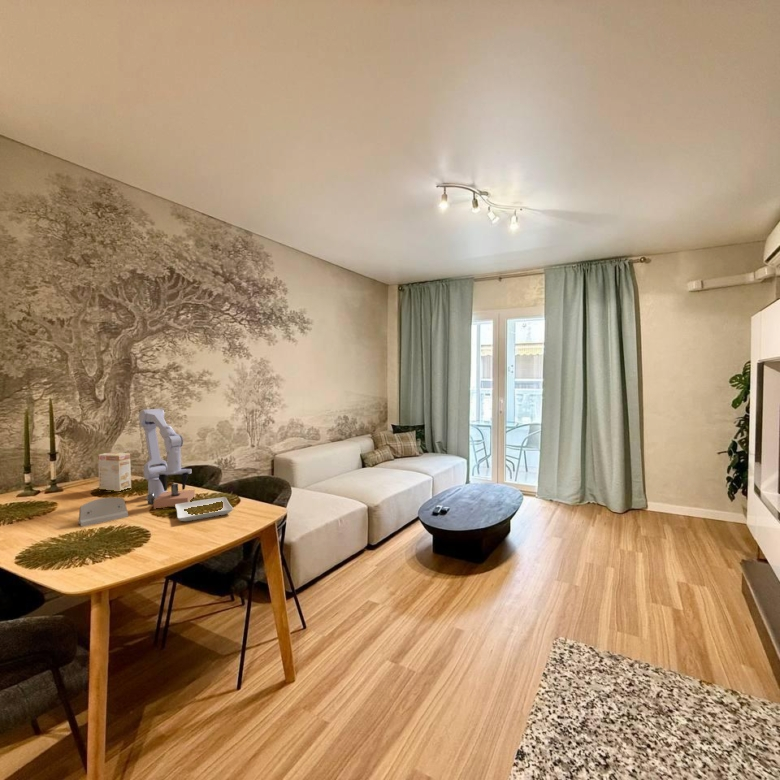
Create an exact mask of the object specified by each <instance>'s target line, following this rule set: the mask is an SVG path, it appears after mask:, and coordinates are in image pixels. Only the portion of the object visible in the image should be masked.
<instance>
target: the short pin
mask: <svg viewBox="0 0 780 780" xmlns="http://www.w3.org/2000/svg"><path fill="white" fill-rule="evenodd" d="M146 497H148V499H147V505H154V501H153V500H155V499H156V498H154V493H151V494H147V495H146Z"/></svg>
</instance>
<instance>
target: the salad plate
mask: <svg viewBox="0 0 780 780" xmlns="http://www.w3.org/2000/svg"><path fill="white" fill-rule="evenodd" d="M221 501H222V502H223V508H222V509H221V510H218V511H215V512H209V513H203V514H198V515H195V514H193V515H191V514H188V512H187V511H184V509H188V508H191V507H197V506H203V505H209V504H213V503H216V502H221ZM175 509H176V518H177V520H179V521H181V522H191V521H192V520H193V521H197V519H199V520H204V519H210V518H215V517H220V516H219V515H221V516H223V515H228V514H230V513H231V512H233V510H234V508H233V506H232V505H231V504H230V502H229V500H228V498H227V497H226V496H222V497H221V496H220V497H213V498H208V499H207V498H206V499H200V500H193V501H192V502H186V503H180V504H175ZM214 516H215V517H214ZM209 517H210V518H209ZM203 518H204V519H203Z"/></svg>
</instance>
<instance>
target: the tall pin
mask: <svg viewBox="0 0 780 780" xmlns="http://www.w3.org/2000/svg"><path fill="white" fill-rule="evenodd" d="M170 486H171V488H170V489H171V491H170V492H171V496H178V491H179V483H172V484H171V485H170Z"/></svg>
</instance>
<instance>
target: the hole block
mask: <svg viewBox="0 0 780 780" xmlns="http://www.w3.org/2000/svg"><path fill="white" fill-rule="evenodd" d="M195 494H196V493H195V489H189V490H188V489H187V490H186V489H184V490H178V496H171V491H167V492H163V493H161V494H160V495H159V496H158V497H157V498H154V499H155V500H153V501H154V504H153V510H157V509H156V508H161V507H167V506H174V505H175V504H180V503H186V502H190V500H191V499H192V498H193V497H194V496H195ZM195 497H196V496H195Z"/></svg>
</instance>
